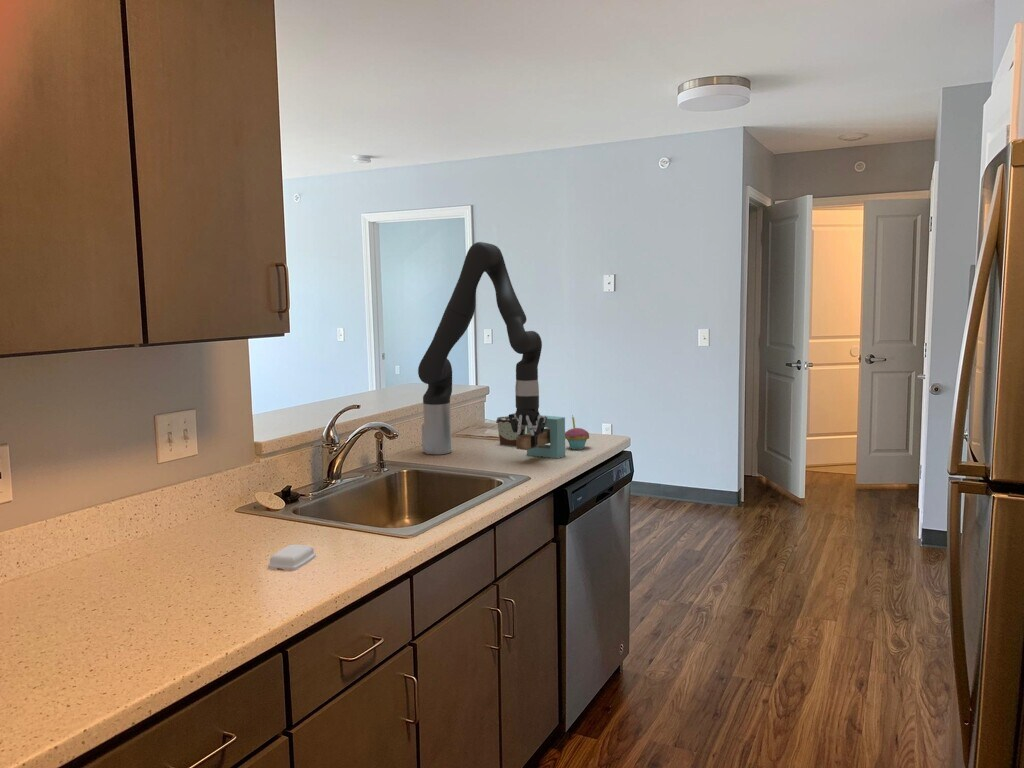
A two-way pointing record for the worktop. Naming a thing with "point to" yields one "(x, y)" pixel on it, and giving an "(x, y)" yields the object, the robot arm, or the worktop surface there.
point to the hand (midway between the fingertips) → (527, 446)
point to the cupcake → (576, 437)
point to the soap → (292, 557)
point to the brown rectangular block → (525, 440)
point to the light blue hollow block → (551, 439)
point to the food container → (506, 432)
